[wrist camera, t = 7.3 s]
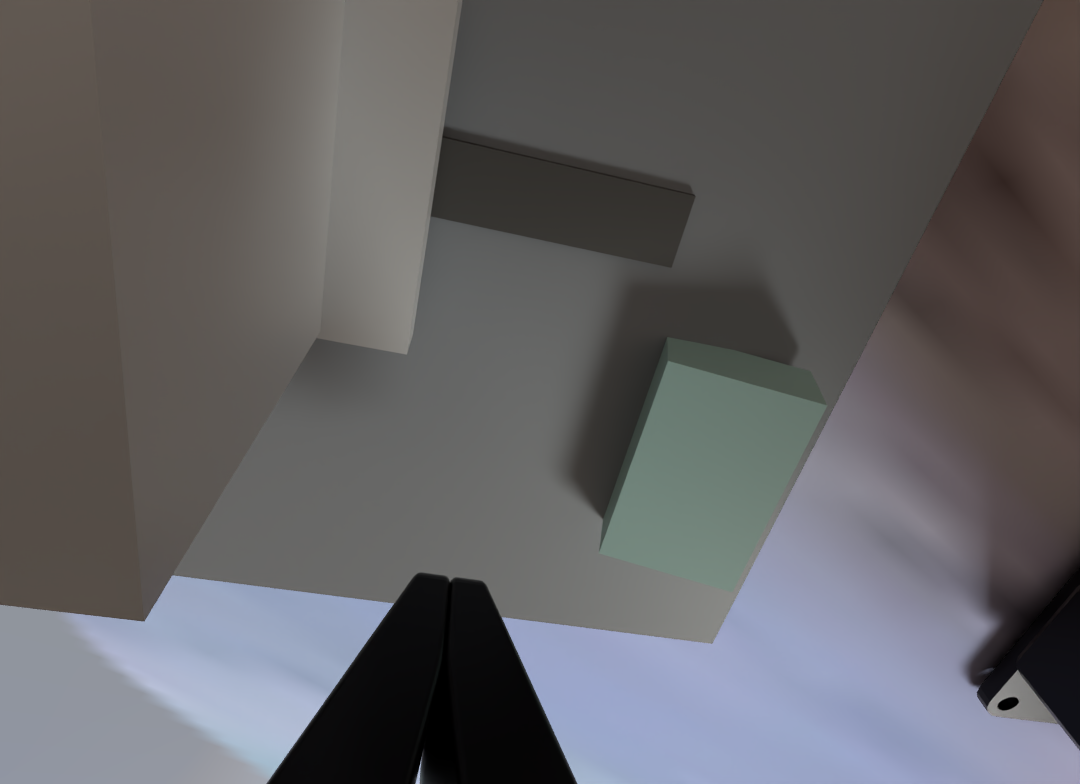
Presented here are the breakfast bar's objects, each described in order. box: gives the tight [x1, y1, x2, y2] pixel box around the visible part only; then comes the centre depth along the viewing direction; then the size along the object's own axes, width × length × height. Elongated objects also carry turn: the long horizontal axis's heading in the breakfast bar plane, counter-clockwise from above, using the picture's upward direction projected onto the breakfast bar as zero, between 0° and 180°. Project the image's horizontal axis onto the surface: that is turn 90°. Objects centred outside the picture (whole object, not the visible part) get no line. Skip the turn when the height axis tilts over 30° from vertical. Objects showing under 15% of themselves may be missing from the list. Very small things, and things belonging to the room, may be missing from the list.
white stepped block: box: [0, 0, 462, 621], centre depth 5 cm, size 4×4×5 cm
